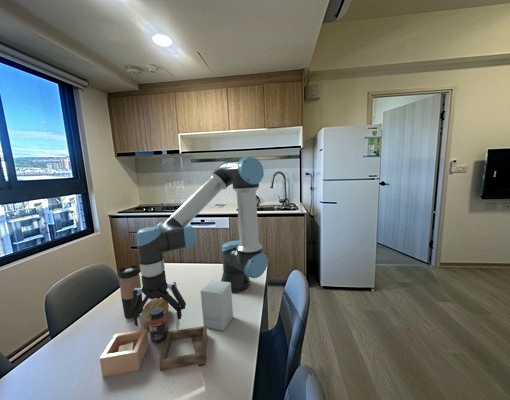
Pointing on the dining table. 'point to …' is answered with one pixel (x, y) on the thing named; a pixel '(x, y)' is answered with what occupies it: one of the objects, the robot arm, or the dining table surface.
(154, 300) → the bread roll
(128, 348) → the maple cube
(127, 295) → the travel mug
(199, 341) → the walnut bin
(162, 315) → the supplement bottle
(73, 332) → the dining table surface
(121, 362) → the light wooden box
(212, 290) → the supplement box
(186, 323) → the dining table surface
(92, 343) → the dining table surface
